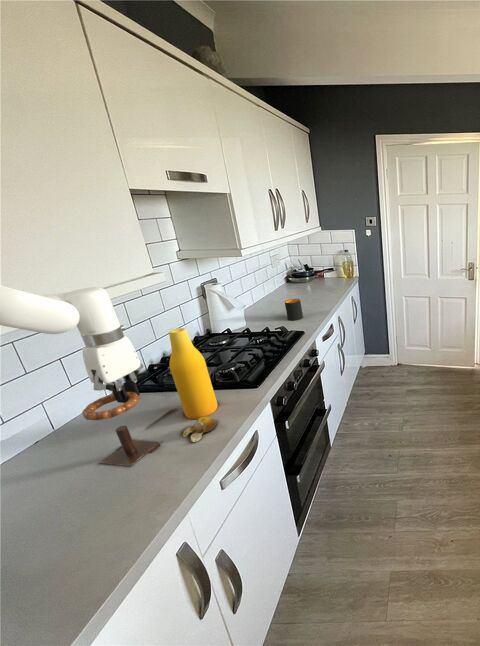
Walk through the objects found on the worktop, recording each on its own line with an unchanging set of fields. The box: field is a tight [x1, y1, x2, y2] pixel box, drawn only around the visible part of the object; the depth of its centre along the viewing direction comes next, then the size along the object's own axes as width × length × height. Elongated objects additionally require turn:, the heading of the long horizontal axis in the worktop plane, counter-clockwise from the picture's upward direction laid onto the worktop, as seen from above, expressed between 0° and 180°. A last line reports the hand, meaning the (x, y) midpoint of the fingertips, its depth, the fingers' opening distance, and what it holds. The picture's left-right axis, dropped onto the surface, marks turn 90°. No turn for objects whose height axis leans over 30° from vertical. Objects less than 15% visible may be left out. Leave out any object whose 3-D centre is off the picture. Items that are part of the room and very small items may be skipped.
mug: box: [284, 298, 304, 322], centre depth 198 cm, size 8×12×10 cm
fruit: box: [182, 416, 217, 443], centre depth 104 cm, size 8×8×4 cm
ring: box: [81, 392, 141, 421], centre depth 90 cm, size 11×11×2 cm
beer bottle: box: [168, 327, 218, 420], centre depth 109 cm, size 9×9×29 cm
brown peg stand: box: [100, 425, 161, 467], centre depth 94 cm, size 9×9×9 cm
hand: (128, 398), depth 94 cm, fingers closed on ring, 2 cm apart
